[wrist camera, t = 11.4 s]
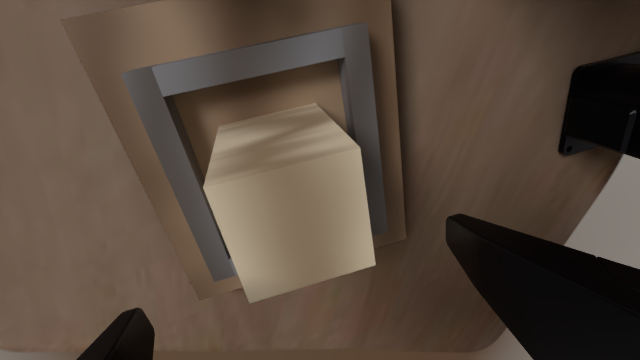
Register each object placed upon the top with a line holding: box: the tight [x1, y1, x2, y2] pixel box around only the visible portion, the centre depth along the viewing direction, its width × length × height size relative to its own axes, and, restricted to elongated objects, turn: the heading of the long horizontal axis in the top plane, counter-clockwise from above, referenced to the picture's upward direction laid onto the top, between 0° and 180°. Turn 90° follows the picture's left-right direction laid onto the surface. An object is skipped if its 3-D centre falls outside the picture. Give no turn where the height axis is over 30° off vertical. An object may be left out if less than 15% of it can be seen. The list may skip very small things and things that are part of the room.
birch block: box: [203, 103, 376, 303], centre depth 14 cm, size 5×5×7 cm
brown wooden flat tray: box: [60, 0, 406, 300], centre depth 18 cm, size 14×16×4 cm
